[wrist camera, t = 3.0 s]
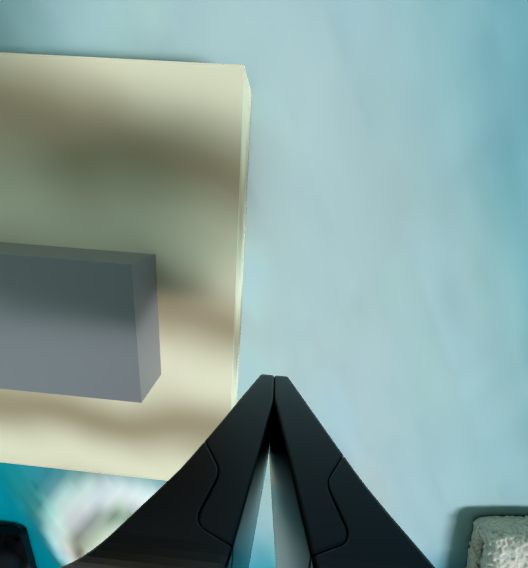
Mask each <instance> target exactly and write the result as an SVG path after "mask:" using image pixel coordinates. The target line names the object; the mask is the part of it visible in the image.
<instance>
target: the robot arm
mask: <svg viewBox="0 0 528 568" xmlns="http://www.w3.org/2000/svg"><path fill="white" fill-rule="evenodd" d="M269 444H270V447H269ZM268 454H269V459H270V477H271V494H272V510H273V527H274V544H275V560H276V568H435V567H434V566H433V565H432V564H431V562H430V561H429V560H428V559H427V558H426V557H425V555H424V554H423V553H422V552H421V551H420V550H419V548H418V547H417V546H416V545H415V544H414V543H413V541H412V540H411V539H410V538H409V537H408V536H407V535H406V533H405V532H404V531H403V530H402V529H401V528H400V526H399V525H398V524H397V523H396V522H395V521H394V519H393V518H392V517H391V516H390V515H389V514H388V512H387V511H386V510H385V509H384V508H383V506H382V505H381V504H380V503H379V502H378V500H377V499H376V498H375V497H374V496H373V494H372V493H371V492H370V491H369V490H368V488H367V487H366V486H365V484H364V483H363V482H362V480H361V479H360V478H359V476H358V475H357V474H356V472H355V471H354V470H353V468H352V467H351V465H350V464H349V463H348V461H347V460H346V458H345V457H343V454H342V453H341V452H340V450H339V449H338V447H337V446H336V444H335V443H334V442H333V440H332V439H331V437H330V436H329V435H328V433H327V432H326V430H325V429H324V428H323V426H322V425H321V423H320V422H319V420H318V419H317V418H316V416H315V415H314V413H313V412H312V411H311V409H310V408H309V406H308V405H307V404H306V402H305V401H304V399H303V398H302V396H301V395H300V394H299V392H298V391H297V389H296V388H295V387H294V385H293V384H292V382H291V381H290V380H289V378H288V377H285V376H275V377H274V376H273V375H264V374H262V375H260V376H259V378H258V379H257V380H256V381H255V382H254V384H253V385H252V386H251V387H250V388H249V389H248V391H247V392H246V393H245V394H244V395H243V397H242V398H241V399H240V400H239V401H238V402H237V404H236V405H235V406H234V407H233V408H232V410H231V411H230V412H229V413H228V414H227V415H226V417H225V418H224V419H223V420H222V421H221V423H220V424H219V425H218V426H217V427H216V428H215V430H214V431H213V432H212V433H211V434H210V435H209V437H208V438H207V439H206V440H205V442H204V443H203V444H202V445H201V446H200V447H199V448H198V449H197V451H196V452H195V453H194V454H193V455H192V456H191V458H190V459H189V460H188V461H187V462H186V463H185V464H184V465H183V466H182V467H181V469H180V470H179V471H178V472H177V473H176V474H174V475H173V476H172V477H171V478H170V479H169V480H168V481H167V482H166V483H165V484H164V485H163V486H162V487H161V488H160V489H159V490H158V491H157V492H156V493H155V494H154V495H153V496H152V497H151V498H150V499H148V500H147V501H146V502H145V503H144V504H143V505H142V506H141V507H140V508H139V509H138V510H137V511H136V512H135V513H134V514H133V515H131V516H130V517H129V518H128V519H127V520H126V521H125V522H124V523H123V524H122V525H121V526H120V527H119V528H118V529H117V530H115V531H114V532H113V533H112V534H111V535H110V536H109V537H108V538H107V539H106V540H104V541H103V542H102V543H101V544H99V545H98V546H97V547H96V548H94V549H93V550H91V551H90V552H88V553H87V554H86V555H84V556H83V557H81V558H79V559H77V560H76V561H74V562H72V563H70V564H67V565H65V566H63V567H60V568H249V562H250V557H251V551H252V545H253V540H254V534H255V528H256V523H257V517H258V512H259V506H260V500H261V495H262V489H263V484H264V478H265V472H266V467H267V461H268ZM0 568H36V565H35V561H34V558H33V554H32V550H31V546H30V543H29V539H28V535H27V532H26V531H25V530H23V529H21V528H13V527H5V526H0Z"/></svg>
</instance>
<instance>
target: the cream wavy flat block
mask: <svg viewBox="0 0 528 568" xmlns="http://www.w3.org/2000/svg"><path fill="white" fill-rule="evenodd" d="M250 112H251V89H250V85H249V81H248V78H247V74H246V70H245V67H244V65H233V64H214V63H195V62H176V61H157V60H138V59H119V58H99V57H80V56H61V55H42V54H23V53H4V52H0V242H6V243H19V244H32V245H44V246H57V247H69V248H82V249H95V250H107V251H120V252H133V253H145V254H156V275H157V296H158V317H159V338H160V359H161V376H160V377H159V378H158V380H157V381H156V383H155V384H154V386H153V387H152V388H151V390H150V391H149V393H148V394H147V396H146V397H145V399H144V400H143V401H142V403H138V402H128V401H118V400H108V399H98V398H88V397H78V396H68V395H58V394H48V393H38V392H28V391H18V390H8V389H0V462H3V463H12V464H21V465H30V466H40V467H49V468H58V469H67V470H76V471H85V472H94V473H103V474H112V475H121V476H130V477H139V478H148V479H157V480H166V481H168V480H169V479H170V478H171V477H172V476H173V475H174V474H176V473H177V472H178V471H179V470H180V469H181V467H182V466H183V465H184V464H185V463H186V462H187V461H188V460H189V459H190V458H191V456H192V455H193V454H194V453H195V452H196V451H197V449H198V448H199V447H200V446H201V445H202V444H203V443H204V442H205V440H206V439H207V438H208V437H209V435H210V434H211V433H212V432H213V431H214V430H215V428H216V427H217V426H218V425H219V424H220V423H221V421H222V420H223V419H224V418H225V417H226V415H227V414H228V413H229V412H230V411H231V410H232V408H233V407H234V406H235V405H236V404H237V390H238V369H239V347H240V326H241V305H242V283H243V262H244V241H245V219H246V198H247V176H248V155H249V134H250Z"/></svg>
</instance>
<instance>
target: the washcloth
mask: <svg viewBox="0 0 528 568" xmlns="http://www.w3.org/2000/svg"><path fill="white" fill-rule="evenodd" d="M473 526H474V529H473V532H472V535H471V541H470V542H469V545H470V548H468V559H467V566H466V567H465V568H528V516H527V515H526V516H525V517H521V516H507V515H506V516H504V517H501V516H484V517H480V518H478V519H475V521H474V522H473Z"/></svg>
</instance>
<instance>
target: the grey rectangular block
mask: <svg viewBox="0 0 528 568" xmlns="http://www.w3.org/2000/svg"><path fill="white" fill-rule="evenodd" d="M160 376H161V359H160V338H159V317H158V296H157V275H156V254H145V253H133V252H120V251H107V250H95V249H82V248H69V247H57V246H44V245H32V244H19V243H6V242H0V389H8V390H18V391H28V392H38V393H48V394H58V395H68V396H78V397H88V398H98V399H108V400H118V401H128V402H138V403H142V401H143V400H144V399H145V397H146V396H147V394H148V393H149V391H150V390H151V388H152V387H153V386H154V384H155V383H156V381H157V380H158V378H159V377H160Z"/></svg>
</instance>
